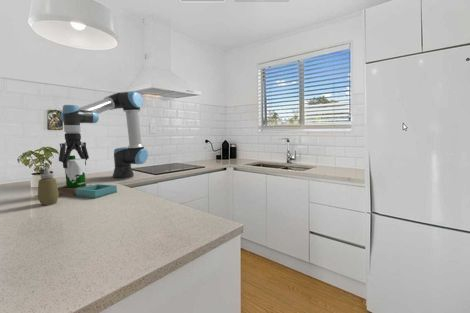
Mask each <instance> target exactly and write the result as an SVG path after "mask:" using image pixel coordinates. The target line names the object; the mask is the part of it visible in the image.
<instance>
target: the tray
mask: <svg viewBox="0 0 470 313" xmlns="http://www.w3.org/2000/svg"><path fill="white" fill-rule="evenodd" d="M91 185H92V186H88V185H86V186H87V187H83V188H79V189H76V196H75V197H78V198H88V199H95V200H96V199H99V198H102V197H105V196H106V197H107V196H108V195H112V194H115V193H118V191H117V190H118V189H117V185H114V184H113V185H112V184H103V183H98V184H91Z"/></svg>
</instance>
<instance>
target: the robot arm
mask: <svg viewBox="0 0 470 313" xmlns="http://www.w3.org/2000/svg"><path fill="white" fill-rule="evenodd" d="M143 104H144V100H143V98H142V95H141V94H140V93H139V92H137V91H132V90H131V91H123V92H116V93H113V94H111V95H108V96H106V97H104V98H103V99H101V100H98V101H95V102H93V103H89V104H87V105H84V106H80V107H79V106H78V105H74V104H64V105H63V106H62V111H61V114H60V120H61V121H62V122H63V129H64V131H63V132H64V140H65V142H63V143H62V142H61V143H60V142H59V148H60V149H59V155H58V162H61V163H62V167H63V169H64V175H66V174H70V170H69V162H67V161H68V159H69V156H71V154H72V153H71V152H73V150H75V151H76V152H77V154H78V156H79V157H80V158H79V159H85V165H84V169H85V172H87V171H86V166H87V161H88V159H89V158H90V157H89V152H88V148H87V142H86V141H85V142H81V140H82V134H81V124H97V122H99V118H100V117H99V115H100V114H101V113H103V112H106V111H113V110H117V109H123V110H122V111H123V112H124V113H125V117H126V126H127V134H128V143H129V145H128V146H125V147H123V146H122V147H115V148H114V149H113V158H114V159H113V161H114V170H113V173H112V178H113V179H126V178H132V177H134V175H135V174H134V171H133V168H132V165H143V164H145V163H146V162H147V160H148V159H149V152H148V150H147V149H145V146H144V145H143V144H142V137H141V136H142V135H141V127H140V126H141V125H140V117H139V112H140V111H141V108H142V107H143Z"/></svg>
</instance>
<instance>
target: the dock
mask: <svg viewBox="0 0 470 313" xmlns="http://www.w3.org/2000/svg"><path fill="white" fill-rule="evenodd" d="M92 185H93V184H89V185H86V186H83V187H87V186H92ZM83 187H79V188H83ZM57 188H58V193H59V196H66V197H76V189H79V188H74V189H72V188H66V185H64V186H63V185H62V186H57Z"/></svg>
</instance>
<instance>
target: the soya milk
mask: <svg viewBox="0 0 470 313" xmlns="http://www.w3.org/2000/svg"><path fill="white" fill-rule="evenodd" d="M67 162H69V170H70V174H65V183H66V185H65V186H66V188H72V189H74V188H79V187H83V186H87V182H86V171H85V170H86V168H85V169H84V165H85V159H81V158H76V155H70V156H69V159H68V161H67ZM85 166H86V165H85Z"/></svg>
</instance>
